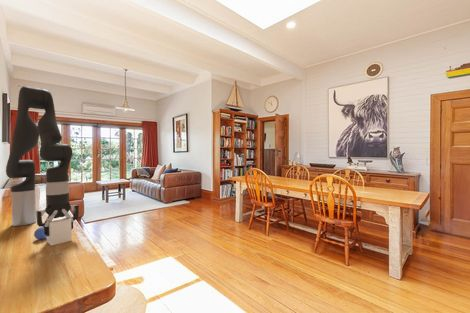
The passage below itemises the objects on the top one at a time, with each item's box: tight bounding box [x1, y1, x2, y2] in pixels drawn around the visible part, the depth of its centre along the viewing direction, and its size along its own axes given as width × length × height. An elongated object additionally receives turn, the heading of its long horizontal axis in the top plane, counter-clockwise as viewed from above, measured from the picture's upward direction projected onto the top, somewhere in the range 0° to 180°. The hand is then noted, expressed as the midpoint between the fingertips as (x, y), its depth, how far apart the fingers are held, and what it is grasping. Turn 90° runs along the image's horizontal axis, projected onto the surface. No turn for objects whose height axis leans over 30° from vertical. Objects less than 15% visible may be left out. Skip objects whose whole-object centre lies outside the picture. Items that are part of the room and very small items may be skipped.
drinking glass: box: [35, 186, 41, 211], centre depth 146 cm, size 7×7×15 cm
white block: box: [46, 216, 73, 246], centre depth 94 cm, size 7×7×9 cm
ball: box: [33, 226, 47, 240], centre depth 97 cm, size 5×5×5 cm
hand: (59, 232), depth 94 cm, fingers closed on white block, 7 cm apart
